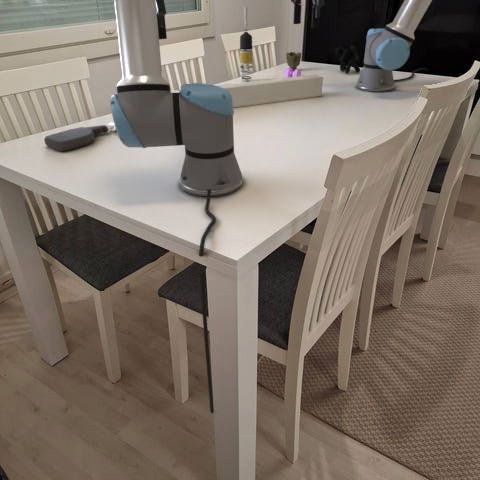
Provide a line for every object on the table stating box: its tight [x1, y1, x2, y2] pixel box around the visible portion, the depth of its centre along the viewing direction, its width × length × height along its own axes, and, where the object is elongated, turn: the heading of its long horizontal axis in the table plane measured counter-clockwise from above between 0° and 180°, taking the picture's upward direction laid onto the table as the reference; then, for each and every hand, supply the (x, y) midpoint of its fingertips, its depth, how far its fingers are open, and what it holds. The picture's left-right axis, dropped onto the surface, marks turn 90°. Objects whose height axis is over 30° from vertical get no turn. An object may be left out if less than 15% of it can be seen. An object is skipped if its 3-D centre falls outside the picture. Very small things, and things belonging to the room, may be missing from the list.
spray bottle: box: [44, 121, 117, 152], centre depth 139 cm, size 3×11×25 cm
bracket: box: [284, 67, 302, 78], centre depth 196 cm, size 13×6×7 cm, turn 143°
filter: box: [239, 6, 253, 82], centre depth 196 cm, size 6×6×30 cm
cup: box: [285, 51, 302, 72], centre depth 220 cm, size 8×7×8 cm
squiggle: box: [334, 45, 361, 74], centre depth 214 cm, size 11×10×15 cm
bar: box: [170, 74, 324, 109], centre depth 168 cm, size 71×5×7 cm, turn 112°
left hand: (157, 36), depth 148 cm, fingers open, 13 cm apart
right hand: (305, 25), depth 166 cm, fingers open, 13 cm apart
